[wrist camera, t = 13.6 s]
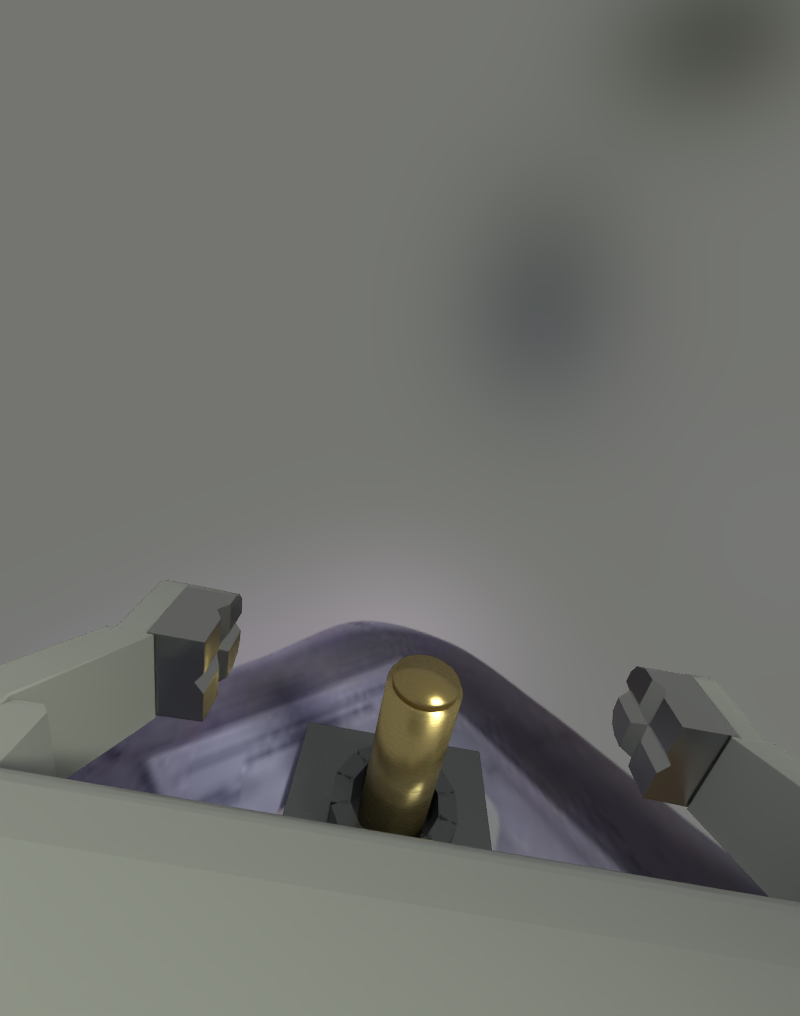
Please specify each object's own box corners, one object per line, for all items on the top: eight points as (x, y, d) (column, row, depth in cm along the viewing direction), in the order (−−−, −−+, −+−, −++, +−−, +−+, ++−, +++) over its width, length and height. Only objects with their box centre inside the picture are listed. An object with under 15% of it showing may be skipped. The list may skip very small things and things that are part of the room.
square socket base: (477, 755, 44) (487, 728, 42) (505, 980, 29) (521, 950, 28) (308, 726, 43) (312, 697, 42) (248, 939, 28) (251, 906, 27)
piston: (420, 798, 38) (461, 658, 33) (420, 865, 34) (468, 715, 28) (360, 788, 38) (391, 645, 32) (351, 853, 33) (385, 700, 28)
